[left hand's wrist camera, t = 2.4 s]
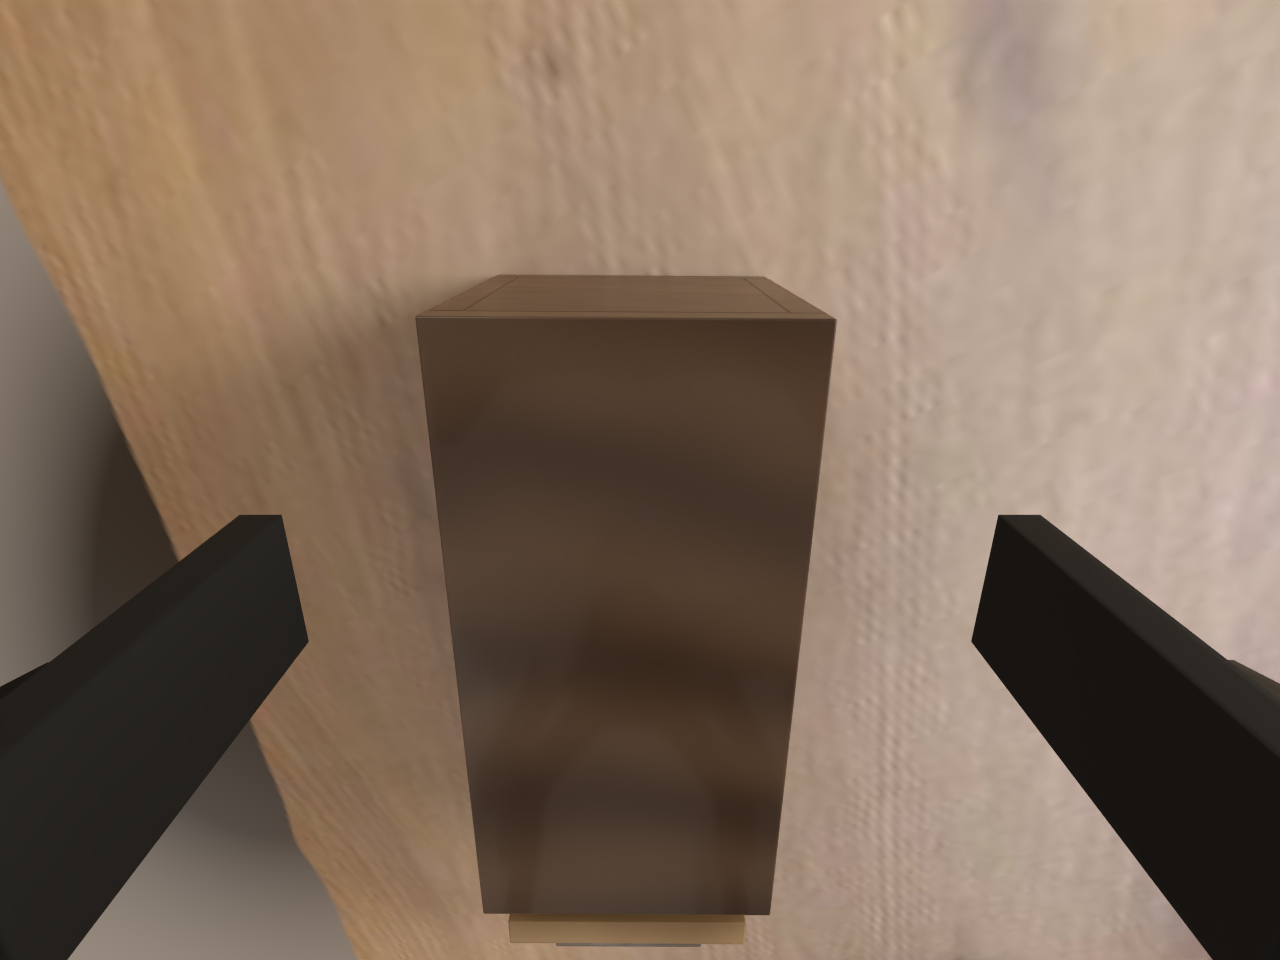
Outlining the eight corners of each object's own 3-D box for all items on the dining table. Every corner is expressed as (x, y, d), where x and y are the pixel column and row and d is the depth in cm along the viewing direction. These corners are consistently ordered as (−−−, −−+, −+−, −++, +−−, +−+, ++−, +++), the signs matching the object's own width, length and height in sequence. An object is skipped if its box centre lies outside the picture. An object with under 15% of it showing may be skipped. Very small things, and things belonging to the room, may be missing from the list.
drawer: (715, 855, 36) (735, 1033, 29) (544, 854, 36) (518, 1032, 29) (746, 390, 27) (789, 467, 19) (515, 389, 27) (464, 465, 19)
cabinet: (733, 715, 34) (769, 915, 25) (527, 713, 34) (483, 914, 25) (765, 276, 26) (837, 318, 17) (497, 274, 26) (414, 316, 17)
